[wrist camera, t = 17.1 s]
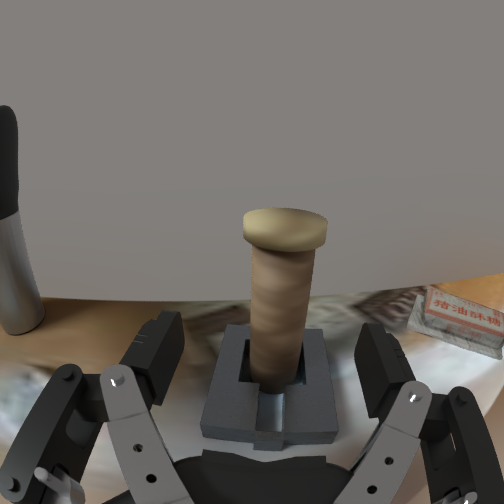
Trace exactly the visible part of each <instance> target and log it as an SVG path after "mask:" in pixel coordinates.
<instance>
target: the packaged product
mask: <svg viewBox="0 0 504 504" xmlns="http://www.w3.org/2000/svg"><path fill="white" fill-rule="evenodd" d="M407 329H410V330H412V331H415V332H418V333H422V334H426V335H430V336H431V337H433V338H436V339H439V340H441V341H444V342H447V343H450V344H453V345H455V346H458V347H460V348H463V349H466V350H470V351H473V352H477V353H479V354H483V355H487V356H489V357H492V358H495V359H498V360H501V359H502V357H503V356H502V349H501V348H502V346H503V345H504V313H502V312H499V311H497V310H494V309H491V308H488V307H486V306H483V305H480V304H477V303H474V302H471V301H469V300H465V299H462V298H460V297H457V296H453V295H451V294H447V293H445V292H441V291H439V290H436V289H431V288H428V289H427V290H426V293H425V296H421V295H418V296H417V298H416V300H415V304H414V307H413V309H412V312H411V314H410V317H409V320H408V324H407Z"/></svg>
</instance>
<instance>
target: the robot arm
mask: <svg viewBox="0 0 504 504" xmlns="http://www.w3.org/2000/svg"><path fill="white" fill-rule="evenodd" d="M18 190H19V180H18V127H17V121H16V116H15V114H14V112H13V110H12V109H11V108H10V107H9V106H5V105H3V106H0V322H1V324H2V326H3V328H4V330H5V332H7V333H8V334H12V335H17V334H22V333H25V332H28V331H30V330H31V329H33V328H35V327H36V326H37V325H38V324H39V323H40V322H41V321H42V320H43V318H44V316H45V309H44V306H43V303H42V300H41V297H40V294H39V291H38V288H37V285H36V281H35V278H34V275H33V271H32V268H31V264H30V261H29V257H28V253H27V249H26V244H25V240H24V235H23V231H22V225H21V220H20V214H19V210H18ZM184 343H185V339H184V332H183V326H182V319H181V314H180V312H177V311H168V310H162V311H161V313H160V315H159V316H158V318H157V320H152V319H151V320H150V321H148V322H147V323H146V324H144V325H143V326H142V328H141V329H140V331H139V332H138V335H136V337H135V339H134V342H132V343H131V345H130V347H129V348H128V350H127V352H126V353H125V355H124V356H123V358H122V360H121V361H120V363H119V364H117V365H112V366H110V367H108V368H106V369H105V370H104V371H103V372H102V374H83V372H82V370H81V369H80V367H79V366H77V365H75V364H65V365H62V366H61V367H59V368H58V369H57V370H56V371H55V372H54V374H53V375H52V377H51V378H50V380H49V382H48V383H47V385H46V386H45V388H44V389H43V391H42V393H41V394H40V396H39V397H38V399H37V401H36V402H35V404H34V406H33V407H32V409H31V411H30V413H29V414H28V416H27V418H26V419H25V421H24V423H23V425H22V427H21V428H20V430H19V432H18V434H17V436H16V438H15V440H14V442H13V444H12V446H11V448H10V450H9V452H8V454H7V456H6V458H5V460H4V462H3V464H2V466H1V469H0V493H1V495H2V496H3V497H4V498H5V499H7V500H8V501H10V502H12V503H13V504H84V503H85V493H84V490H83V488H82V486H81V485H80V481H81V478H82V475H83V473H84V470H85V467H86V465H87V462H88V459H89V457H90V454H91V452H92V449H93V447H94V444H95V442H96V439H97V437H98V434H99V432H100V429H101V427H102V425H103V422H107V427H108V431H109V434H110V437H111V441H112V444H113V447H114V450H115V453H116V456H117V459H118V462H119V464H120V467H121V470H122V472H123V475H124V478H125V480H126V483H127V485H128V487H129V490H127V491H125V492H124V493H122V494H120V495H118V496H116V497H114V498H112V499H110V500H108V501H106V502H104V503H102V504H390V503H391V501H392V499H393V497H394V496H395V494H396V492H397V490H398V489H399V487H400V485H401V483H402V481H403V479H404V477H405V475H406V473H407V471H408V469H409V467H410V465H411V463H412V461H413V458H414V456H415V454H416V452H417V449H418V447H419V445H421V450H422V454H423V459H424V464H425V469H426V475H427V480H428V487H429V493H430V500H431V504H504V480H503V476H502V473H501V469H500V465H499V462H498V458H497V455H496V452H495V449H494V446H493V443H492V440H491V437H490V434H489V432H488V429H487V426H486V423H485V421H484V418H483V416H482V413H481V411H480V409H479V406H478V404H477V402H476V399H475V397H474V395H473V393H472V392H471V391H470V390H469V389H467V388H465V387H461V386H458V387H455V388H453V389H452V390H451V391H450V392H449V394H448V395H444V394H435V393H431V391H430V389H429V388H428V386H426V385H425V384H424V383H422V382H419V381H416V379H415V376H414V374H413V372H412V370H411V367H410V365H409V363H408V361H407V358H406V357H405V354H404V352H403V351H402V348H401V346H400V344H399V342H398V340H397V339H396V338H395V337H394V336H393V335H392V334H391V333H386V332H385V329H384V327H383V325H382V324H381V323H380V322H379V323H364V324H363V326H362V329H361V332H360V335H359V338H358V342H357V345H356V348H355V352H354V360H355V364H356V368H357V372H358V375H359V379H360V383H361V387H362V391H363V395H364V399H365V403H366V407H367V412H368V416H369V418H377V417H378V419H379V423H378V425H377V426H376V428H375V430H374V431H373V433H372V435H371V437H370V438H369V440H368V441H367V443H366V445H365V446H364V448H363V449H362V451H361V452H360V454H359V455H358V457H357V458H356V460H355V461H354V462H353V464H352V465H351V466H350V467H349V469H348V470H347V469H345V468H343V467H341V466H338V465H335V464H331V463H326V456H305V457H292V458H288V459H283V460H277V461H272V462H260V461H256V460H253V459H249V458H246V457H243V456H240V455H237V454H233V453H226V452H218V451H211V450H205V449H203V452H202V456H195V457H189V458H185V459H182V460H179V461H176V462H174V461H173V459H172V457H171V455H170V453H169V451H168V449H167V448H166V446H165V444H164V442H163V439H162V437H161V435H160V433H159V431H158V429H157V426H156V424H155V422H154V420H153V417H152V415H151V413H150V409H151V407H152V404H154V405H158V406H161V405H162V403H163V400H164V398H165V395H166V393H167V390H168V388H169V385H170V382H171V380H172V377H173V375H174V372H175V370H176V367H177V365H178V362H179V360H180V357H181V355H182V353H183V350H184ZM450 434H452V437H453V440H454V444H455V447H456V451H455V449H454V445H453V442H452V438H451V435H450Z"/></svg>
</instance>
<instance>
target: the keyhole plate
mask: <svg viewBox="0 0 504 504" xmlns="http://www.w3.org/2000/svg"><path fill="white" fill-rule="evenodd" d="M250 327H251V326H243V325H231V324H227V327H226V330H225V334H224V338H223V341H222V345H221V348H220V352H219V356H218V359H217V363H216V367H215V370H214V374H213V378H212V381H211V385H210V389H209V392H208V396H207V400H206V403H205V407H204V411H203V414H202V418H201V422H200V426H201V430H202V434H203V437H206V438H213V439H220V440H228V441H237V442H247V443H254V448H253V450H264V451H281V450H282V446H283V444H284V445H308V444H332V442H333V440H334V438H335V437H336V435H337V433H338V431H339V430H338V423H337V415H336V408H335V401H334V395H333V388H332V382H331V376H330V370H329V364H328V359H327V353H326V347H325V342H324V337H323V331H322V329H304V335H303V341H302V346H301V352H300V360H301V376H302V385H285V388H284V394H283V406H282V432H270V431H255V430H256V421H257V411H258V401H259V387H260V383H250V382H241V378H242V372H243V366H244V360H245V355H250Z"/></svg>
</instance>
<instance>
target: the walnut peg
mask: <svg viewBox="0 0 504 504" xmlns="http://www.w3.org/2000/svg"><path fill="white" fill-rule="evenodd" d="M326 231H327V220H326V218H324V217H323V216H321V215H319V214H316V213H312V212H309V211H305V210H299V209H289V208H264V209H257V210H253V211H250V212H247V213H246V214H245V215H244V231H243V233H244V234H243V236H244V239H245V240H246V241H247V242H249V243H251V244H252V286H251V327H250V371H249V379H250V382H251V383H260V387H259V391H260V392H262V393H266V394H281V393H284V388H285V385H294V383H295V378H296V373H297V368H298V363H299V358H300V352H301V346H302V341H303V335H304V329H305V323H306V316H307V310H308V303H309V296H310V288H311V281H312V274H313V266H314V258H315V249H316V248H319V247H321V246H322V245H324V243H325V240H326Z"/></svg>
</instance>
